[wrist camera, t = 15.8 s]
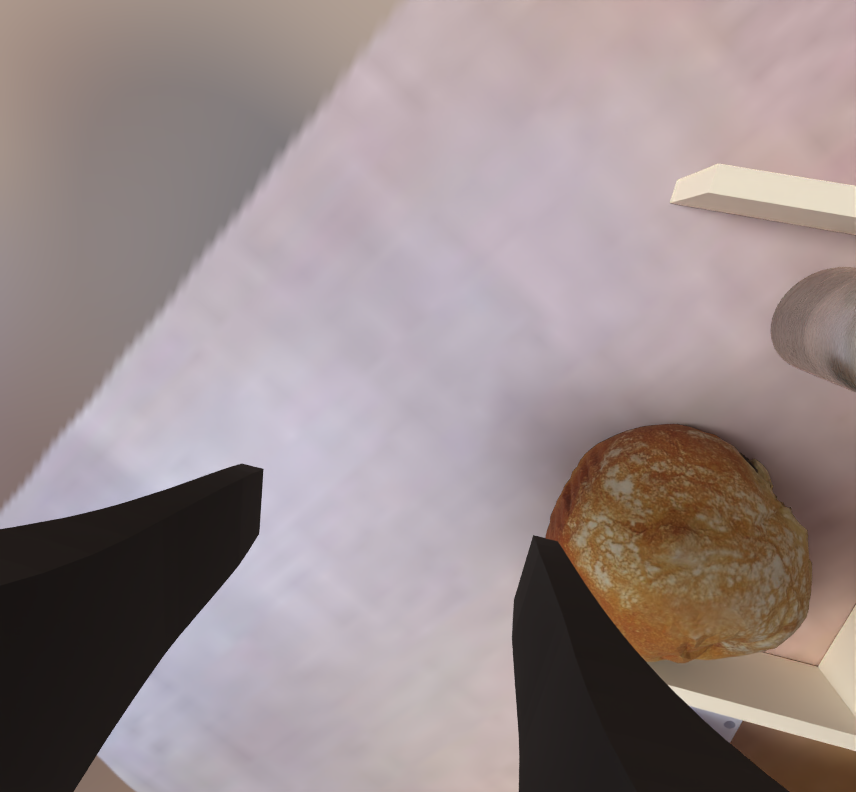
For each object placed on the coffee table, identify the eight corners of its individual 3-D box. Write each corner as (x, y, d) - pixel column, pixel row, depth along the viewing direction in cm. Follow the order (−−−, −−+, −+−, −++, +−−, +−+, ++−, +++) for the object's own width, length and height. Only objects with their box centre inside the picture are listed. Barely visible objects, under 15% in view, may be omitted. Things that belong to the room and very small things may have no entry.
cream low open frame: (827, 683, 22) (883, 758, 19) (538, 607, 24) (543, 666, 20) (1101, 250, 16) (1260, 251, 12) (677, 180, 17) (718, 163, 14)
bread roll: (751, 500, 24) (935, 541, 16) (644, 670, 23) (785, 804, 15) (602, 387, 23) (716, 372, 15) (486, 556, 22) (545, 633, 14)
